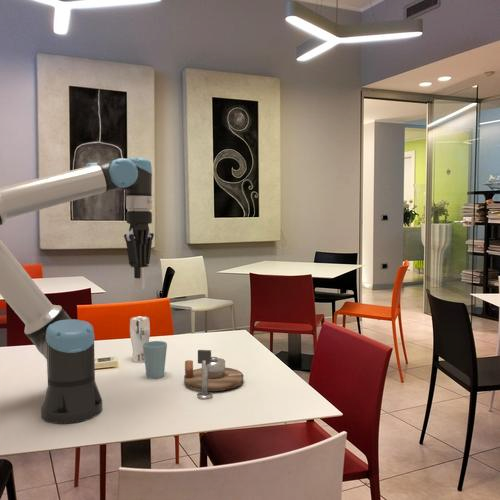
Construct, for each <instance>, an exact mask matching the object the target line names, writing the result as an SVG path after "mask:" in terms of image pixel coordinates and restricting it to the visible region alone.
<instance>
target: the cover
mask: <svg viewBox="0 0 500 500" xmlns="http://www.w3.org/2000/svg"><path fill="white" fill-rule="evenodd" d="M225 367H226V359H224V358H221V357H220V358H219V357H217V356H211V364H207V373H208V379H220V378H223V377H225Z"/></svg>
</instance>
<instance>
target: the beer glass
mask: <svg viewBox="0 0 500 500" xmlns="http://www.w3.org/2000/svg"><path fill="white" fill-rule="evenodd" d="M129 319H130V320H129V321H130V322H129V336H130V337H129V338H130V343H131V347H132V355H131V362H133V363H145V360H144V352H143V343H146V342H150V337H151V336H150V335H151V327H150V326H151V325H150V324H151V323H150V317H148V316H140V315H139V316H133V317H131V318H129Z"/></svg>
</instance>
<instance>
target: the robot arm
mask: <svg viewBox="0 0 500 500" xmlns="http://www.w3.org/2000/svg"><path fill="white" fill-rule="evenodd" d="M152 168H153V167H152V162H151V160H150V159H148V158H144V157H130V158H129V157H128V158H122V157H119V158H116V159H113V160H109V161H105V162H87V163H86V164H85V166H84V167H80V168H79V167H78V168H76V169H71V170H67V171H63V172H59V173H55V174H50V175H46V176H42V177H38V178H37V177H36V178H34V179H29V180H26V181H22V182H18V183H12V184H9V185H5V186H1V187H0V226H2V225H4V224H5V222H6V221H7V220H8V219H11V218H15V217H19V216H21V215H22V216H23V215H27V214H29V213H33V212H36V211H40V210H41V211H42V210H45V209H47V208H48V209H49V208H52V207H55V206H58V205H63V204H66V203H70V202H74V201H77V200H81V199H84V198H88V197H92V196H96V195H99V194H103V193H106V192H110V191H125V196H126V197H125V199H126V200H125V202H126V203H125V205H126V206H125V208H126V210H127V211H126V216H125V218H126V223H127V225H128V224H129V228H128V233H124V235H123V238H124V241H125V245H126V251H127V258H128V264H129V266H130V267H131V268H133V275H134V289H136V290H144V289H146V268H148V267H149V264H150V262H151V261H150V260H151V252H152V245H153V244H152V243H153V239H154V236H155V233H153V232H150V228H149V224H152V223H153V213H152V211H151V210H152V208H153V206H152V205H153V203H152V202H153V199H152V197H153V196H152V195H153V194H152V193H153V192H152V191H153V189H152V187H153V179H152V178H153V170H152ZM0 296H1V297H2V298H3V299H4V301H5V302H6V303H7V304H8V305H9V306H10V308H11V310H13V311H14V313H15V314H16V315H17V316H18V318H19V319H20V320H21V321H22V322H23V323H24V325H25V326H24V334H25V336H27V338H28V339H29V340H30V341H31V343H32V344H33V345H34V346H35V348H36V349H37V351H38V352H39V353H40V354H41V355H42V356H43V358H45V360H46V367H47V368H46V369H47V370H46V371H47V372H46V373H47V374H46V375H47V387H46V391H45V394H44V397H43V399H42V404H41V408H40V413H41V419H42V420H44V421H45V422H48V423H51V424H52V423H53V424H72V423H73V424H74V423H79V422H83V421H86V420H89V419H92V418H95V417H97V416H98V415H100V413H102V412H103V400H102V398H103V397H101V393H100V390H99V389H98V385H97V383H96V373H95V372H96V371H95V370H96V369H95V368H96V367H95V366H96V365H95V364H96V363H95V339H96V338H95V333H94V331H95V330H94V326H93V325H92V324H91V323H90V322H88V321H87V320H80V319H75V318H73V319H72V318H71V317H70V316H69V314H68V313H67V311H65V310H64V308H63V307H62V306H61V305H59V304H58V305H56V304H52V302H51V301H50V300H49V299H48V297H47V296H46V295H45V294H44V292H43V291H42V290H41V288H40V287H39V286H38V285H37V284H36V282H35V281H34V280H33V278H32V277H31V276H30V275H29V274H28V272H27V271H26V269H25V268H24V267H23V266H22V265H21V264H20V262H19V261H18V260H17V258H16V257H15V256H14V255H13V253H12V252H11V251H10V249H9V248H8V247H7V246H6V244H5V243H4V242H3V241H2V239H1V238H0Z"/></svg>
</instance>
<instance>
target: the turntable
mask: <svg viewBox="0 0 500 500" xmlns="http://www.w3.org/2000/svg"><path fill="white" fill-rule="evenodd" d="M183 383H184V385H185V386H186V387H188V388H190V389H194V390H197V391H198V390H199V391H202V367H200V368H195V369H194V360H185V361H184V376H183ZM243 383H244V374H243V372H242V371H240V370H238V369H235V368H230V367H226V366H225V377H223V378H220V379H208V392H216V391H217V392H218V391H225V390H231V389H233V388H237V387H240V385H242V384H243Z"/></svg>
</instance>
